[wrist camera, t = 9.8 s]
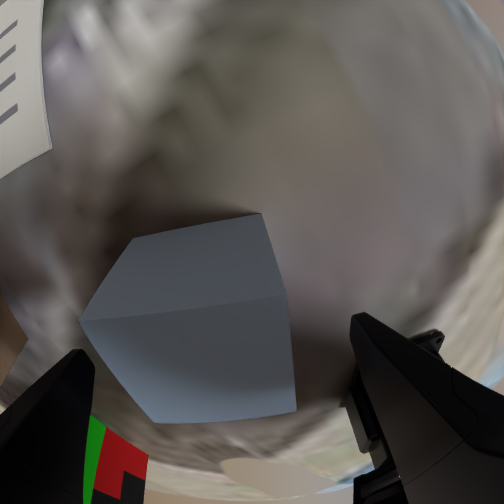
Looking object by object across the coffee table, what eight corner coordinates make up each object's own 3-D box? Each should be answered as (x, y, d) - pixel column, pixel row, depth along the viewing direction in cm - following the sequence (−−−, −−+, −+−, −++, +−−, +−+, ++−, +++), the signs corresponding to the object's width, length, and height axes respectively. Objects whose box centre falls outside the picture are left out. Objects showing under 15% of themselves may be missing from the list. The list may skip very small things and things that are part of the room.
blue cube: (261, 212, 10) (286, 293, 5) (276, 316, 12) (296, 411, 8) (134, 237, 10) (77, 321, 5) (171, 332, 12) (154, 422, 8)
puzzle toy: (87, 448, 21) (74, 512, 12) (27, 402, 17) (1, 475, 8) (148, 454, 20) (141, 534, 11) (81, 406, 16) (55, 507, 7)
